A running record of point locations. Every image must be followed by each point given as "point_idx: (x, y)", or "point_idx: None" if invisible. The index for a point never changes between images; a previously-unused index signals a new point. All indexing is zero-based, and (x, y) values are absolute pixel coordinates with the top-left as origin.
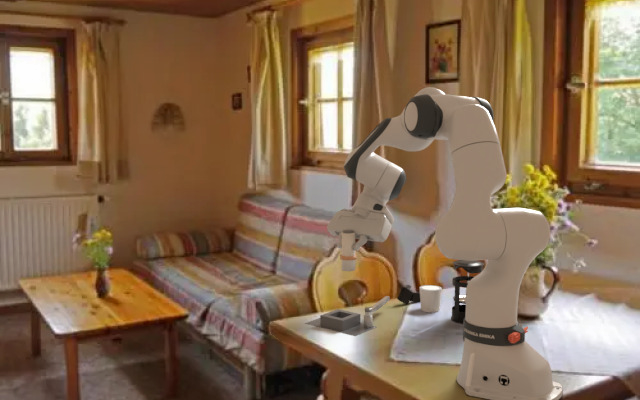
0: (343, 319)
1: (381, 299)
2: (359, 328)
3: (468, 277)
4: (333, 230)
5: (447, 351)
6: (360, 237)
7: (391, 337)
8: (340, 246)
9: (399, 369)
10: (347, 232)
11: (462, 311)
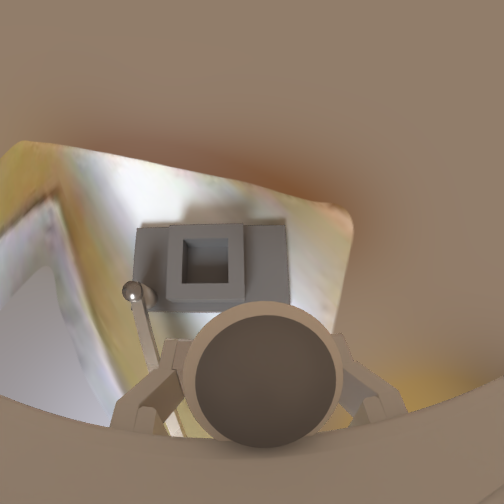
0: (174, 234)
1: (174, 415)
2: (156, 275)
3: None
4: (467, 392)
5: (5, 282)
6: (146, 411)
7: (90, 289)
8: None
9: (38, 176)
10: (231, 324)
11: None
